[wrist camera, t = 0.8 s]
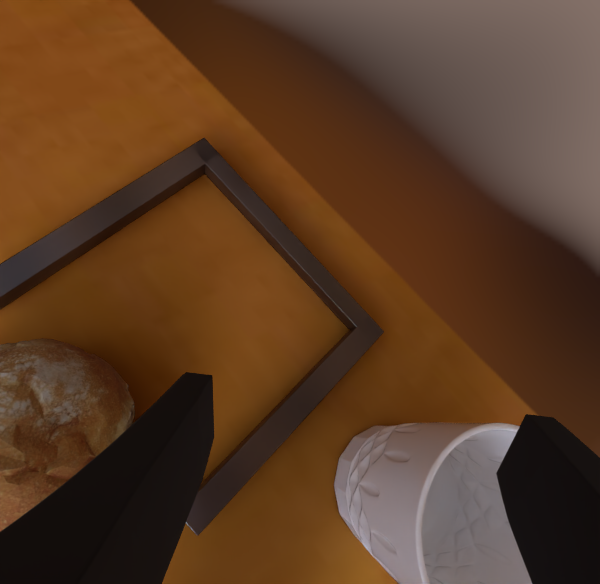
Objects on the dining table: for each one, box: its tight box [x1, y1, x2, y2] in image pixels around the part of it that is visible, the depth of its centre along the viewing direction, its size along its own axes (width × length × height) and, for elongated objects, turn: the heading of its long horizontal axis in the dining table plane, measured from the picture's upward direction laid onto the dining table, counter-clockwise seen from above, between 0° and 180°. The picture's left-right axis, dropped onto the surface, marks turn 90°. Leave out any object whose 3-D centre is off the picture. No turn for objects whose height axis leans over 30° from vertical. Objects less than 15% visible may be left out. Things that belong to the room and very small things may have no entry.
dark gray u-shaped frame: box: [0, 138, 384, 535], centre depth 23 cm, size 15×17×1 cm
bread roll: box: [0, 339, 135, 531], centre depth 17 cm, size 10×10×8 cm
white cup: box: [334, 422, 532, 584], centre depth 19 cm, size 8×8×10 cm
